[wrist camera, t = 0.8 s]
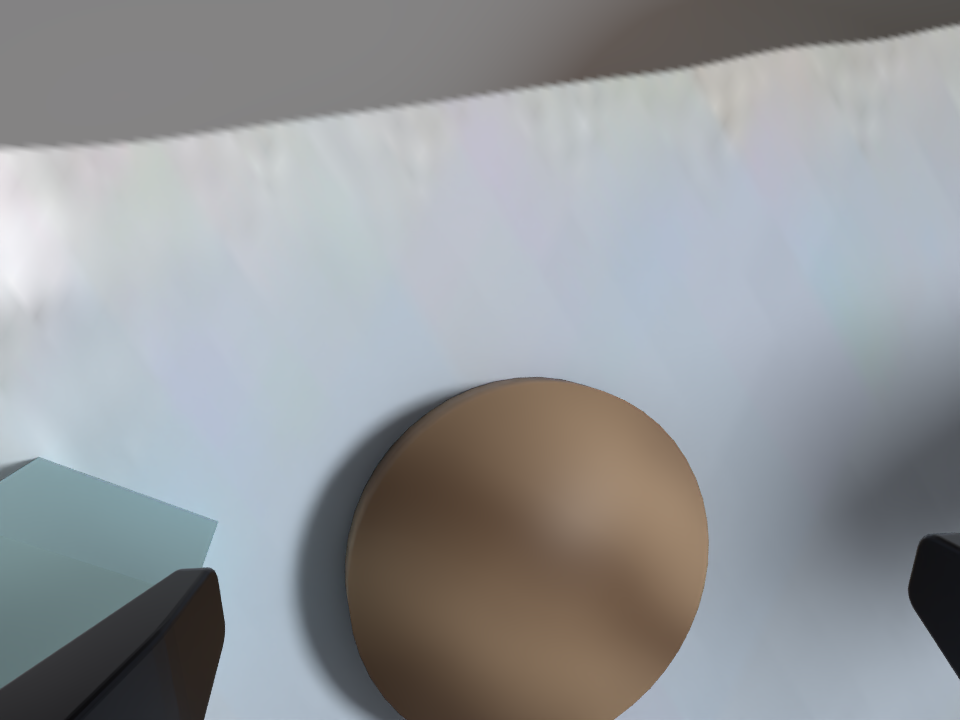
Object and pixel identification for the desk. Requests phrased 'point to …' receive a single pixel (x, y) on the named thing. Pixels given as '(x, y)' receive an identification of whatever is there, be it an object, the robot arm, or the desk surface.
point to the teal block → (80, 556)
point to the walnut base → (526, 556)
